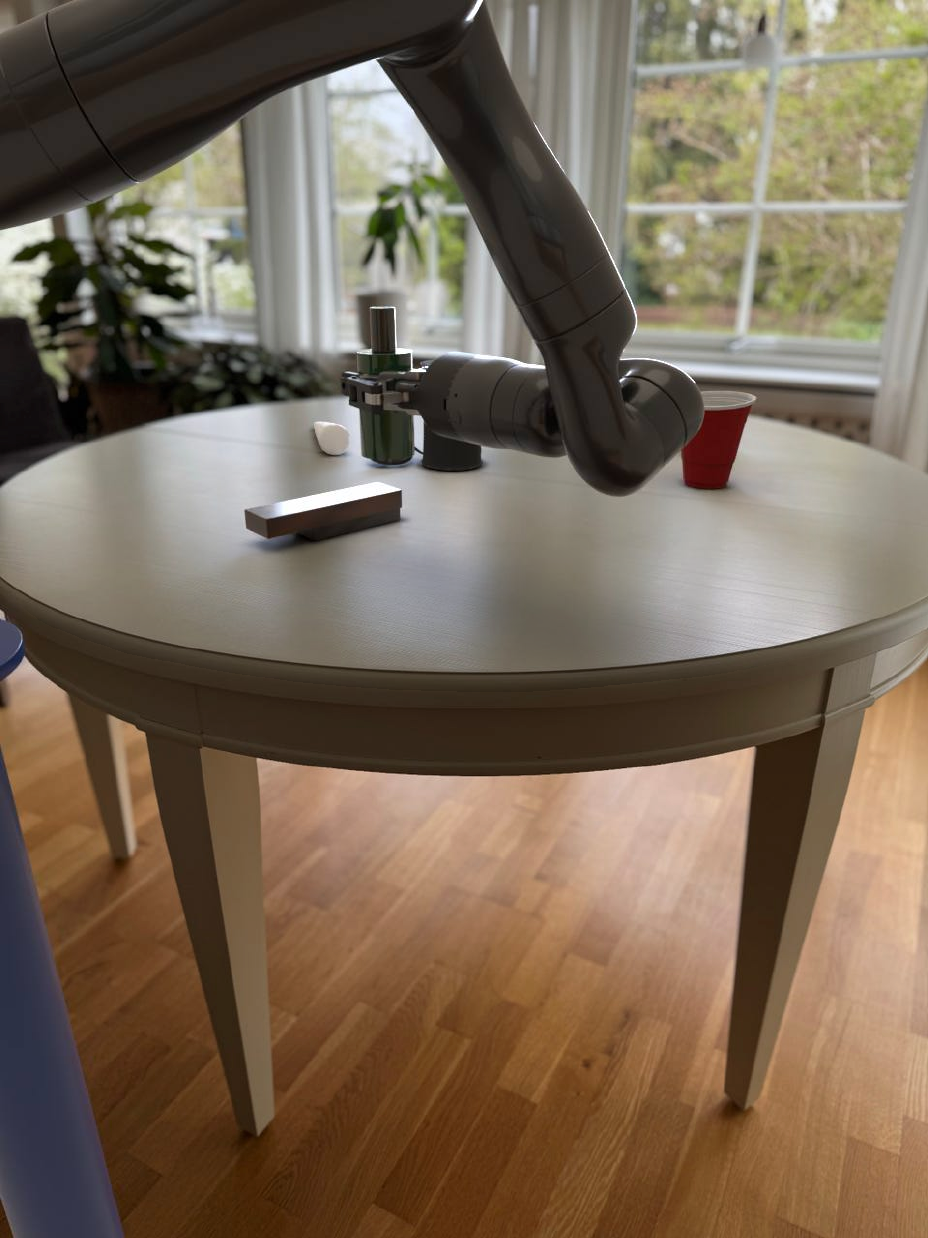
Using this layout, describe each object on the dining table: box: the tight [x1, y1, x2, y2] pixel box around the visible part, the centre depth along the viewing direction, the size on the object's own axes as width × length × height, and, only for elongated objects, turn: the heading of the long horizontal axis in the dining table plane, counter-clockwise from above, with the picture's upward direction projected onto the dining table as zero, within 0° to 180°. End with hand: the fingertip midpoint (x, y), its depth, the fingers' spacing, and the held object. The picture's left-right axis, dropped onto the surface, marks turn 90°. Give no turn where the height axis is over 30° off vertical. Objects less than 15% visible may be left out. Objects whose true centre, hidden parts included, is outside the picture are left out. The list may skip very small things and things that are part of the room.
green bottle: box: [355, 306, 416, 460], centre depth 84 cm, size 5×5×14 cm
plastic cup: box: [680, 390, 757, 490], centre depth 116 cm, size 11×11×12 cm
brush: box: [243, 481, 403, 542], centre depth 98 cm, size 18×5×4 cm, turn 131°
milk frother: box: [370, 358, 484, 471], centre depth 125 cm, size 14×16×15 cm
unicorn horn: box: [313, 421, 351, 456], centre depth 142 cm, size 5×24×5 cm, turn 13°
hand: (370, 380), depth 86 cm, fingers closed on green bottle, 5 cm apart
